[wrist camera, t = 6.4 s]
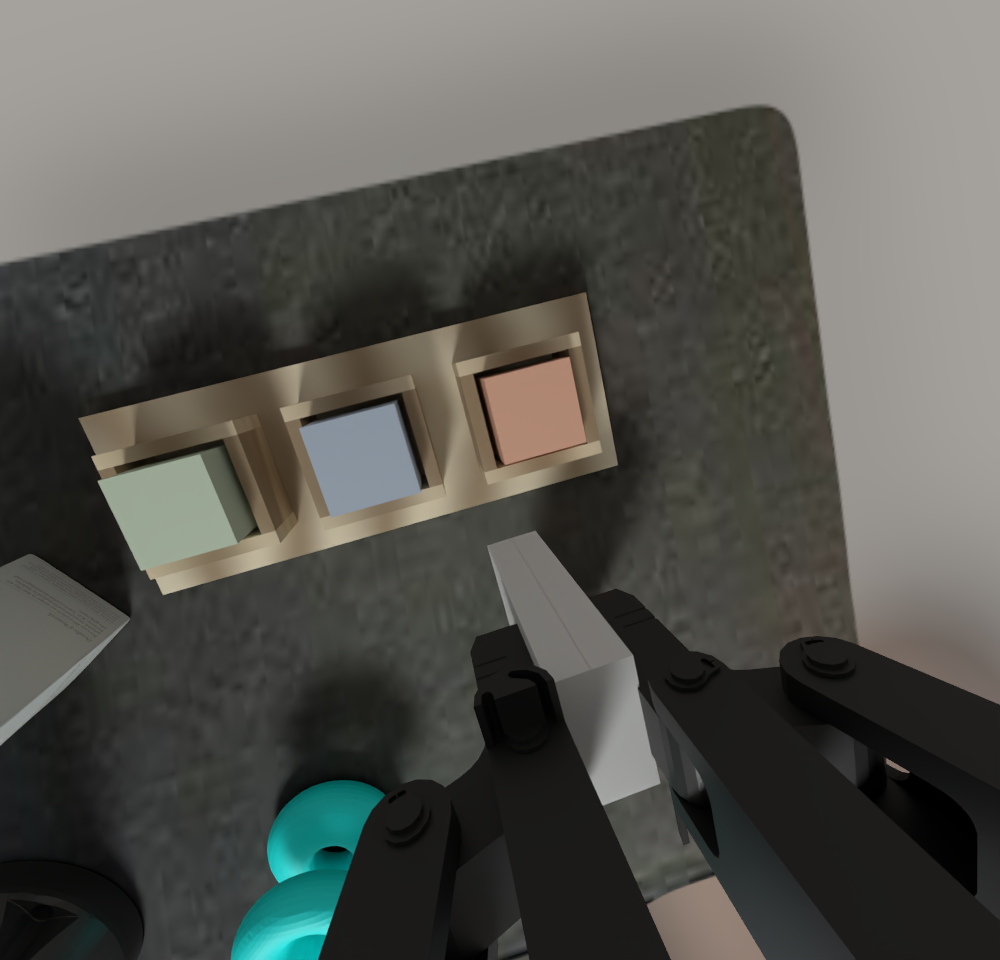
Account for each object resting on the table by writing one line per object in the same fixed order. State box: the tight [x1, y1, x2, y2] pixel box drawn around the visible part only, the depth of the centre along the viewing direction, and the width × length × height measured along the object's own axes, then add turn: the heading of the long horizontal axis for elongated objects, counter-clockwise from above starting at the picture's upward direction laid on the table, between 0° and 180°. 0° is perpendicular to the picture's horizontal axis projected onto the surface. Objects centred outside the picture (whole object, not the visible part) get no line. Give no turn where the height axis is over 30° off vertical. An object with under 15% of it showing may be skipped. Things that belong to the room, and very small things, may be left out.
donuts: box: [231, 780, 385, 960], centre depth 34 cm, size 10×10×10 cm
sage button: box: [98, 444, 258, 571], centre depth 26 cm, size 5×5×4 cm
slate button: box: [299, 399, 421, 518], centre depth 27 cm, size 5×5×4 cm
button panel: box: [78, 292, 618, 595], centre depth 30 cm, size 32×12×5 cm, turn 103°
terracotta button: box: [476, 357, 587, 465], centre depth 29 cm, size 5×5×4 cm
